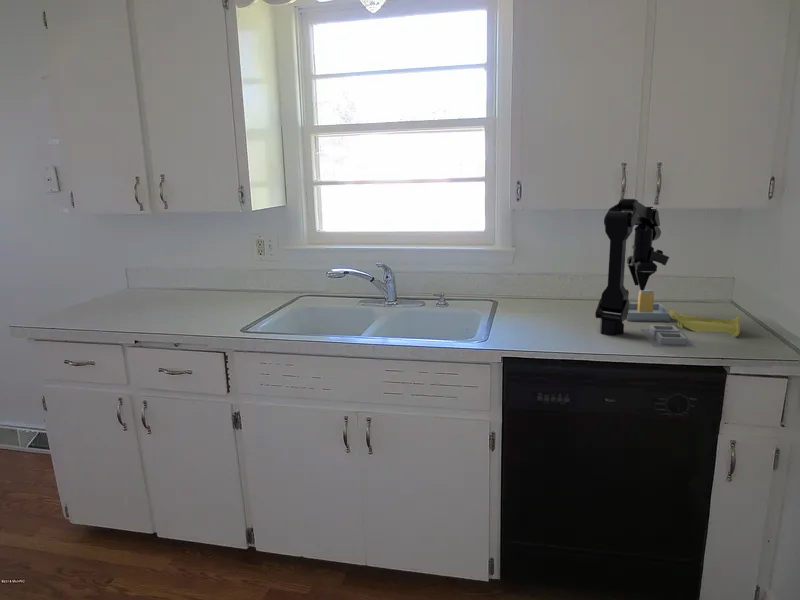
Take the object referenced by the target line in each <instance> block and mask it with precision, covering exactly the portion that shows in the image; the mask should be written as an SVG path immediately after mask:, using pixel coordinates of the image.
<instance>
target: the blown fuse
mask: <svg viewBox="0 0 800 600" xmlns="http://www.w3.org/2000/svg"><path fill="white" fill-rule="evenodd" d="M637 297H638V298H637V303H638V308H637V312H648V313H653V304H654V300H655V299H654V298H655V293H654V290H653V289H646V288H645V289H644V290H640V289H639V291H638V295H637Z"/></svg>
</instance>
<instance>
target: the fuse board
mask: <svg viewBox="0 0 800 600" xmlns="http://www.w3.org/2000/svg"><path fill="white" fill-rule="evenodd" d="M639 329H640V331H641V332H642V333H643V334H644V336H645V337H646V338H647V340H648V341H649V342H650V344H651V345H652V347H661V348H662V347H663V348H666V347H667V348H689V349H690V348H691V349H692V348H694V349H696V348H698V347H697V345H696V344H695V343H694V342H692V340H690V338H689V337H688V336H686V335H685V333H683V332H682V331H681V329H678V328H677V327H676V326H675V325H663V324H662V325H661V324H660V325H659V324H658V325H657V324H656V325H655V324H650V325H649V328H639Z"/></svg>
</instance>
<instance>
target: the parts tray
mask: <svg viewBox="0 0 800 600" xmlns="http://www.w3.org/2000/svg"><path fill="white" fill-rule="evenodd" d="M637 308H638V302H637V303H636V302H631V303H630V302H629V310H628V316H627V319H626V320H625V321H627V322H658V323H659V322H663V323H670V322H671V317H670V315H669V311H670V310H668V309H667V308H666V307H664V305H663V304H661V303H653V313H648V312H637Z"/></svg>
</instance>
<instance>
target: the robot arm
mask: <svg viewBox="0 0 800 600" xmlns="http://www.w3.org/2000/svg"><path fill="white" fill-rule="evenodd" d="M653 207H654V206H645V205H644V204H642V203H641V202H640V201H638V199H635V198H622V199H620V200H619V201H618V203H616V204H615V205H614V206H612V207H610V208H609V209H608V211H607V213H606V214H605V216H604V220H603V225H604V230H605V231H604V232H605V234H606V235H607V236H606V237H608V239H609V255H608V256H609V257H608V272H607V273H608V274H607V286H606V287H605V289H604V290H603V291H602V293H601V297H600V300H599V301H598V304H597V307H596V310H595V314H594V317H595V319H599V333H600V334H601V335H604V336H605V335H606V336H620V335H624V333H625V332H624V331H625V329H624V328H625V323H624V321H627V320H626V319H627V316H628V310H629V303H630V300H629V294H630V292H629V290H628V289H626V287H625V286H624V282H625V281H624V280H625V268H626V266H625V265H626V264H627V267H628V270H629V273H630V275H631V278H632V280H633V283H634V284H633V285H634V286H638V287H639V291H640V290H644V289H646V286H647V283H648V280H649V279H650V276H652V275H653V274H655V273H657V271H658V270H657V269H658V265H657V263H659V264H661V265H662V266H667V263H668V261H669V260H670V257H669V256H668V255H666V254H664V251H663V250H661V249H656V250H655V249H654V247H653V242H654V241H657V240H658V239H659V238H660V237H661V235H662V231H661V228H660V226H661V222H660V221H661V220H660V215H659V213H660V212H659V210H657V208H656V209H651V208H653ZM634 226H636V227H635V228H634ZM633 228H634V240H633V245H632V249H633V252H632V253H633V254H632V255H629V256H628V257H627V258H626V251H627V250H626V249H627V241H628V238H629V237H630V236H631V234H632V232H633Z"/></svg>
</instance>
